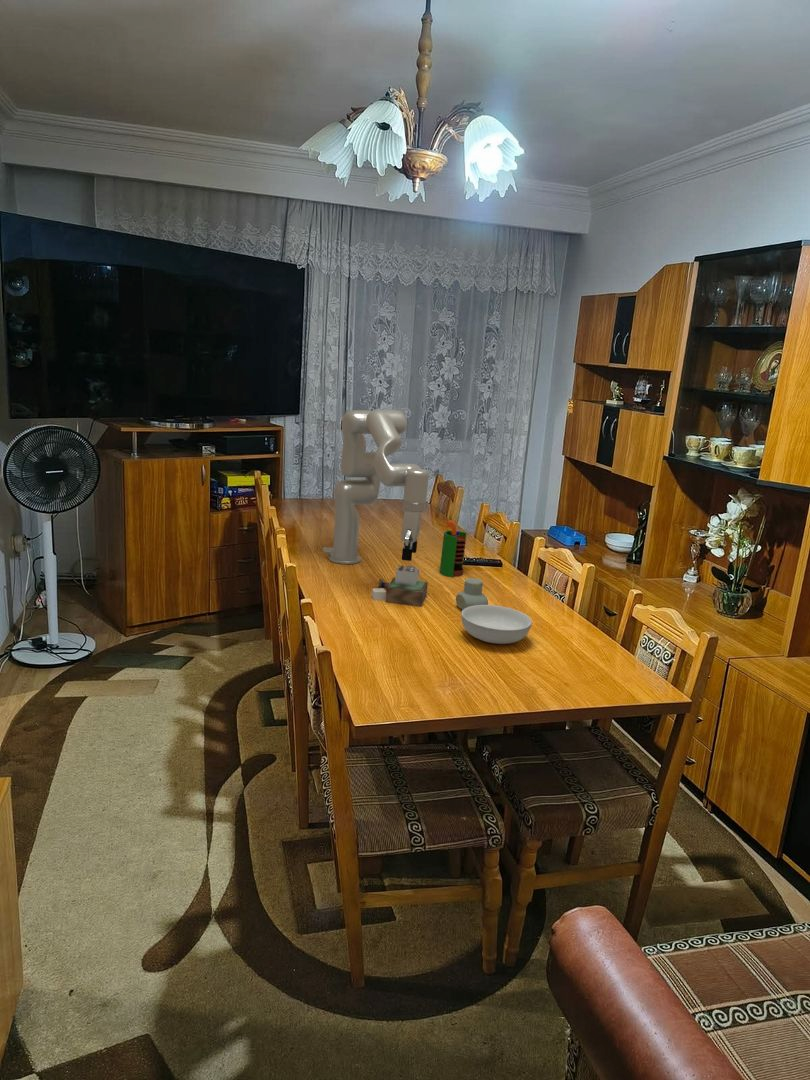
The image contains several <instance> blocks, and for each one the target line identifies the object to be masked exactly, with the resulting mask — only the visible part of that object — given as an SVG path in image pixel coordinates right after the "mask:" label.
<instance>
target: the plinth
mask: <svg viewBox="0 0 810 1080" xmlns="http://www.w3.org/2000/svg"><path fill="white" fill-rule="evenodd" d="M395 579H396V577H393V578H392V579H391V581H390V582H389V583H390V584H389V585H388V587H386V590H385V591H386V600H385V603H388V604H390V603H391V604H396V605H397V604H398V605H403V606H404V605H405V606H412V607H419V608H422V607H423V604H424V602H425V601H426V598H427V596H428V587H429V586H428V585H429V582H428V581H424V580H418V584H417V586H416V587H410V586H403V585H395Z"/></svg>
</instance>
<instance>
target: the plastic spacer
mask: <svg viewBox="0 0 810 1080" xmlns="http://www.w3.org/2000/svg"><path fill="white" fill-rule="evenodd" d="M371 589H372V590H371V598H372V599H373V601H386V591H387V590H386V589H385V587H380V588H373V587H372V588H371Z"/></svg>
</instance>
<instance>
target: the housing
mask: <svg viewBox="0 0 810 1080" xmlns="http://www.w3.org/2000/svg"><path fill="white" fill-rule="evenodd" d="M419 577H420V568H416V566H414V565H407V566H404V565H403V564H401V565H400V566H398V567H397V568H396V570H395V578H396V579H395V585H403V586H410V587H416V586H417V584H418V581H419Z"/></svg>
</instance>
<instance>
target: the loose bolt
mask: <svg viewBox="0 0 810 1080" xmlns="http://www.w3.org/2000/svg"><path fill="white" fill-rule="evenodd" d="M389 584H390V582H384V579H383V578H382V579H381V578H379V580H378V587H380V588H387V587H388V585H389Z"/></svg>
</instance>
